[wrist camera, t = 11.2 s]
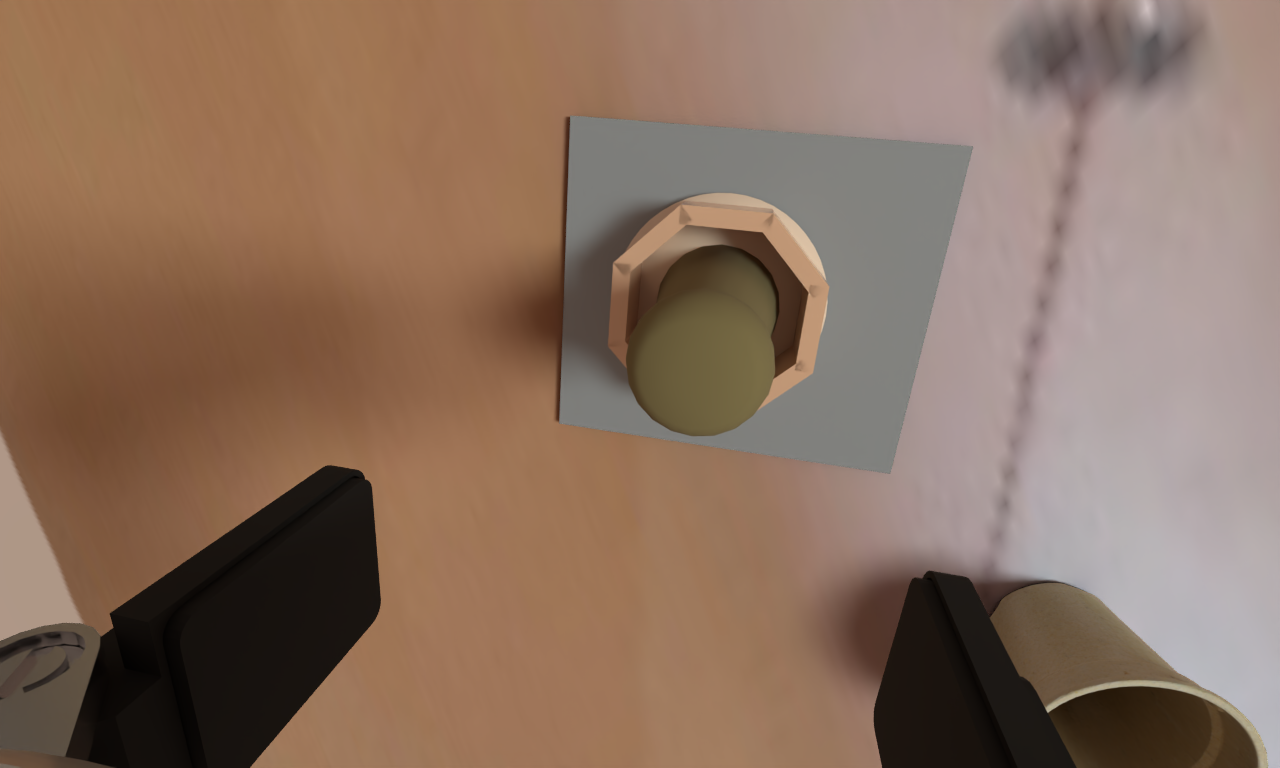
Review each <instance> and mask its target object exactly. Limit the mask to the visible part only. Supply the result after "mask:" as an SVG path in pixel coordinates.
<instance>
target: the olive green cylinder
mask: <svg viewBox="0 0 1280 768" xmlns="http://www.w3.org/2000/svg"><path fill="white" fill-rule="evenodd" d="M779 312H780V310H779V292H778V289H777V287H776V284H775V281H774V279H773V276H772V274H771V273H770V272H769V270H768V269H767V268H766V267H765V266H764V265H763V263H762V262H761V261H760V260H759V259H758V258H756V257H755V256H753V255H751V254H750V253H748V252H746V251H745V250H743V249H741V248H736V247H732V246H728V245H723V244H721V245H710V246H702V247H700V248H697V249H695V250H693V251H690V252H688V253H686V254H684V255H683V256H682V257H681V258H679V259H678V260H677V261H676V262H675V263H674V264H673V265H672V266H671V267H670V268H669V269H668V271H667V273H666V275H665V276H664V278H663V280H662V282H661V283H660V287H659V292H658V297H657V302H656V304H655V305H654V306H653V307H652V308H650V309H649V310H648V311H647V312H646V313H645V314H644V315H643V316H642V317H641V319H640V320H639V322H638V324H637V326H636V327H635V329H634V331H633V332H632V334H631V336H630V339H629V344H628V349H627V354H626V366H627V374H628V382H629V386H630V388H631V390H632V392H633V394H634V397H635V399H636V401H637V403H638V404H639V406H640V407H641V408H642V409H643V410H644V411H645V412H646V413H647V414H648V415H649V416H650V418H651V419H652V420H654V421H655V422H657V423H659V424H660V425H662V426H664V427H665V428H667V429H669V430H670V431H673V432H677V433H681V434H685V435H689V436H715V435H718V434H721V433H724V432H727V431H730V430H733V429H736V428H737V427H738V426H740V425H741V424H742V423H744V422H745V421H747V420H748V419H749V418H751V417H752V416H753V415H754V414H755V413H756V411H757V410H758V409H759V407H760V406H761V404H762V403H763V402H764V400H765V399H766V397H767V396H768V395H769V392H770V388H771V385H772V382H773V378H774V375H775V358H774V345H773V343H772V340H771V336H772V334H773V332H774V329H775V326H776V322H777V319H778V316H779Z"/></svg>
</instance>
